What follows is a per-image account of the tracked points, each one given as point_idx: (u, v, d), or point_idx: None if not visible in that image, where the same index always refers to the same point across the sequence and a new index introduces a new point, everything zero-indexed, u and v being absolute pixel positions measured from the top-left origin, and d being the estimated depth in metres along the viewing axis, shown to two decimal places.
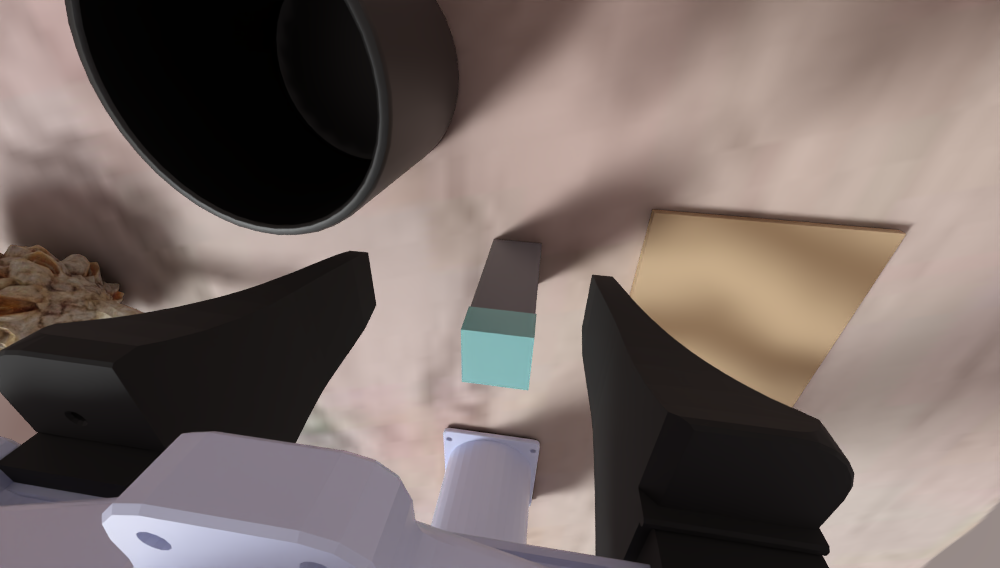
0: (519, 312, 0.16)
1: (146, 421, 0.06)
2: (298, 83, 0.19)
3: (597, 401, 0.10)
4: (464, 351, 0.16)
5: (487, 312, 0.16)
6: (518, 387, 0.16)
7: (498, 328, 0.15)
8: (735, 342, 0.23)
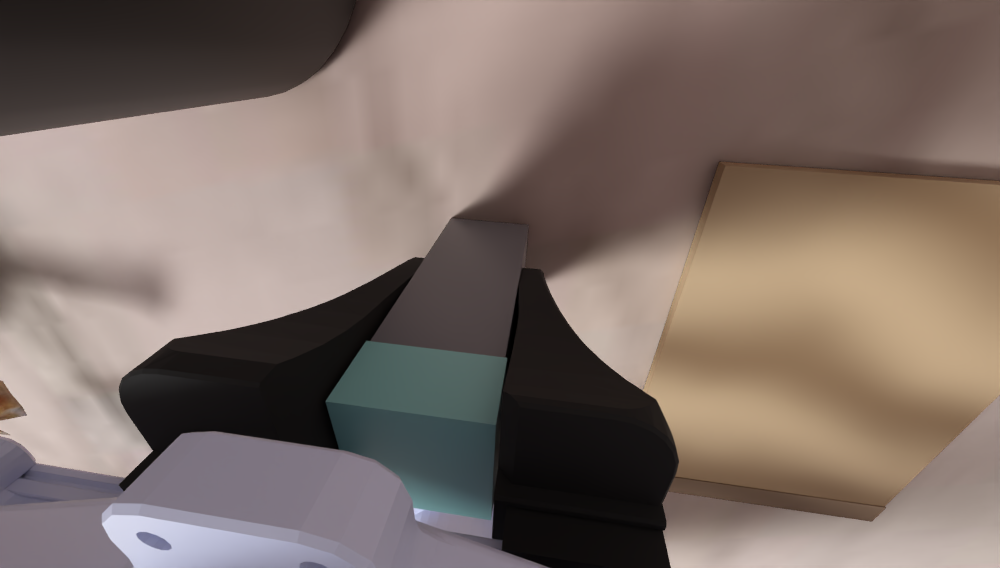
0: (471, 353, 0.08)
1: None
2: None
3: None
4: (344, 445, 0.07)
5: (401, 355, 0.07)
6: (469, 512, 0.08)
7: (416, 398, 0.07)
8: (838, 383, 0.15)
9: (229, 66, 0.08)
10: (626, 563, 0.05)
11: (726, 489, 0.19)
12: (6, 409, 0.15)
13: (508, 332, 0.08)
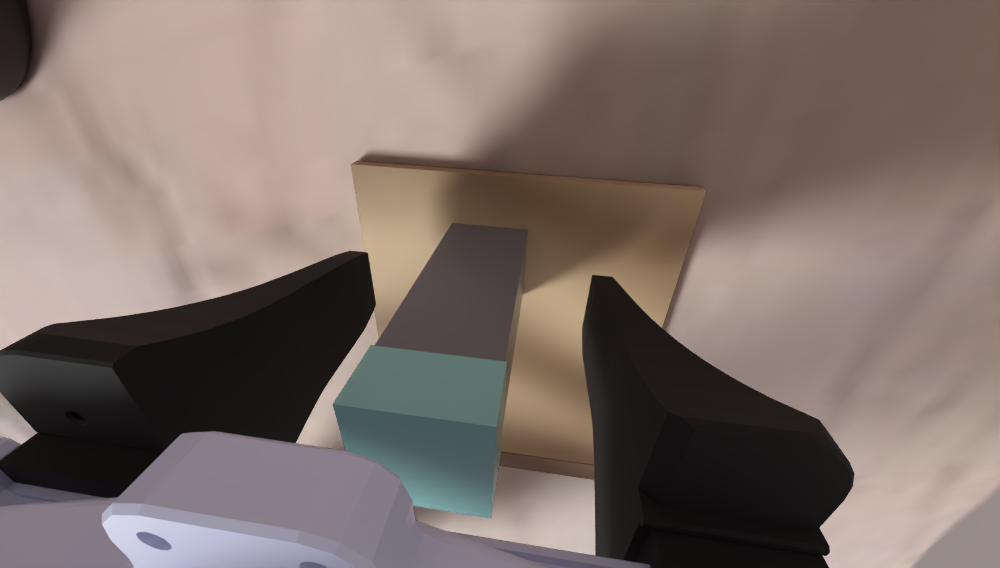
0: (472, 357, 0.08)
1: (147, 421, 0.06)
2: None
3: (597, 401, 0.10)
4: (350, 445, 0.07)
5: (405, 359, 0.08)
6: (470, 510, 0.08)
7: (419, 401, 0.07)
8: (525, 354, 0.17)
9: None
10: None
11: None
12: None
13: (508, 336, 0.09)
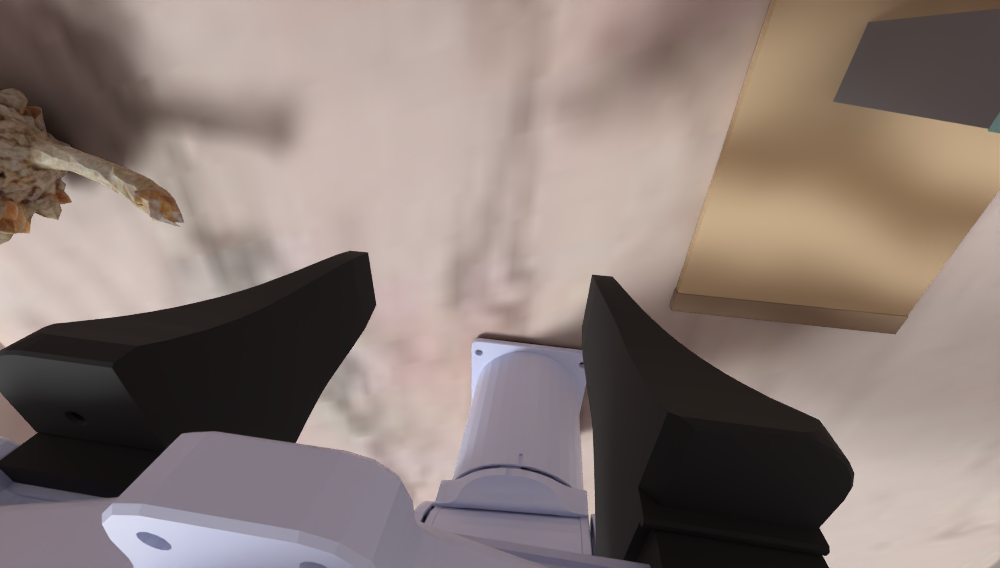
0: None
1: (146, 421, 0.06)
2: None
3: (597, 401, 0.10)
4: None
5: None
6: None
7: None
8: (872, 179, 0.18)
9: None
10: None
11: (769, 308, 0.22)
12: (172, 211, 0.18)
13: None
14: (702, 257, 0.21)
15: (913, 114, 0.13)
